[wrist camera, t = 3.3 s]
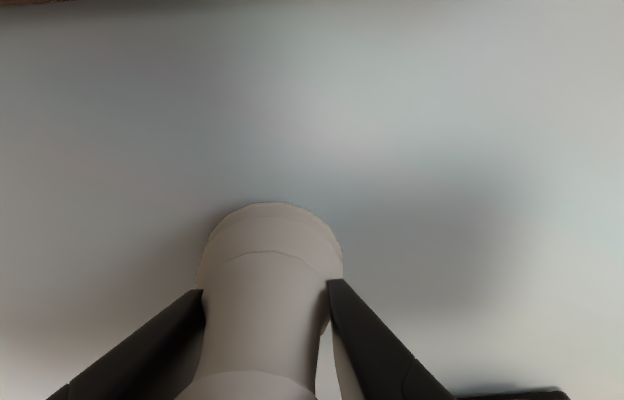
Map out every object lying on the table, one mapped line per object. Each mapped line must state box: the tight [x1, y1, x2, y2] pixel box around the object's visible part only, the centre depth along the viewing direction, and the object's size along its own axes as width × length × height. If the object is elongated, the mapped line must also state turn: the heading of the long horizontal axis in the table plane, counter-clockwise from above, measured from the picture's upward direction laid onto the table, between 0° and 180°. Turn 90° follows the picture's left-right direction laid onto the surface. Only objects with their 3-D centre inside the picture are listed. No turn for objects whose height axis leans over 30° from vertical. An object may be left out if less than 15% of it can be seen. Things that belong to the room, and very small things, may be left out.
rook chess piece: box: [174, 202, 343, 400], centre depth 7 cm, size 4×4×8 cm
